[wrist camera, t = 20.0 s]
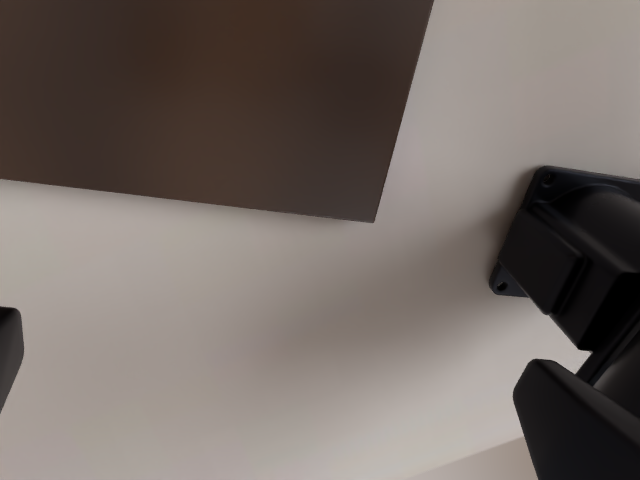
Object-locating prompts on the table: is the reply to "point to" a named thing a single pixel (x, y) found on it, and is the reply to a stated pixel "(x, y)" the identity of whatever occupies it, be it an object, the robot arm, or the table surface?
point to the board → (210, 98)
